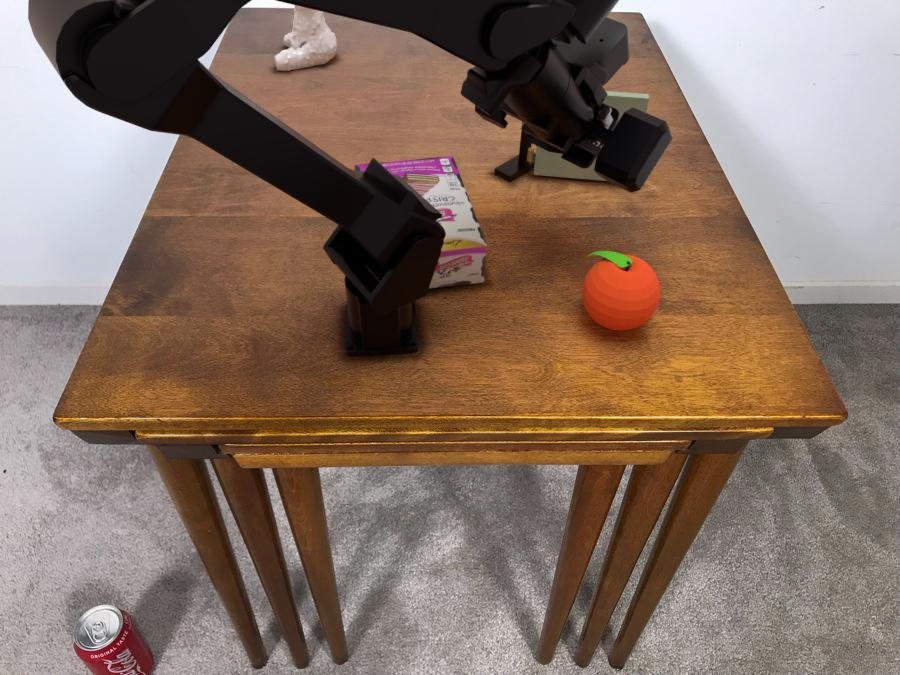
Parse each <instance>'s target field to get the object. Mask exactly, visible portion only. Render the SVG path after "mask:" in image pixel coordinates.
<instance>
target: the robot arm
mask: <svg viewBox="0 0 900 675" xmlns="http://www.w3.org/2000/svg"><path fill="white" fill-rule="evenodd" d="M252 1H253V0H28V2H27V3H28V5H27V6H28V7H27V20H28V22H29V25H30V29H31V32H32V35H33V37H34V39H35V40H36V43H38V45H39V47H40V49H41V50H42V51H43V53H44V54H45V56H46V57H47V60H48V61H49V62H50V63H51V65H52V67H53V68H54V70H55V71H56V73H57V75H58V76H59V78H60V79H61V80H62V82H63V84H64V85H65V87H66V88H67V89H68V90H69V92H70V93H71V94H72V96H74V98H75V99H76V100H78V101H80V102H81V103H82V104H83V105H84V106H86V107H87V108H90V109H91V110H94V111H96V112H98V113H101V114H103V115H106V116H109V117H112V118H114V119H117V120H120V121H123V122H125V123H127V124H130V125H134V126H136V127H139V128H142V129H144V130H147V131H150V132H155V133H163V134H170V135H178V136H185V137H188V138H190V139H193V140H195V141H196V142H198V143H200V144H202V145H203V146H205V147H207V148H209V149H210V150H212V151H214V152H216V153H217V154H219V155H220V156H222V157H224V158H225V159H227V160H229V161H230V162H232V163H234V164H235V165H237V166H239V167H241V168H242V169H244V170H246V171H248V172H249V173H250V174H252V175H254V176H255V177H257V178H259V179H261V180H263V181H264V182H266V183H267V184H269V185H270V186H273V188H276V189H278V190H279V191H281V192H282V193H283V194H286V195H288V196H289V197H291V198H293V199H294V200H296V201H298V202H299V203H301V204H302V205H305V206H306V207H307V208H310V210H312V211H314V212H316V213H318V214H320V215H321V216H322V217H325V218H326V219H328V220H330V221H331V222H333V223H334V224H336V227H335V229H334V230H333V232H332V233H331V234H330V236H329V237H328V238H327V240H326V241H325V243H324V244H323V246H322V249H323V251H324V252H325V254H326V255H327V257H328V258H329V260H330V261H331V262H332V264H333V265H335V266H336V267H337V268H338V269H339V270H340V271H341V273H342V274H343V275H344V287H345V296H346V304H345V325H344V326H345V335H344V338H345V339H344V340H345V341H344V349H345V354H346V355H347V356H366V355H383V354H384V355H386V354H402V353H416V352H417V351H418V350H419V335H418V334H419V333H418V323H417V313H416V301H418V300H420V299H422V298H425V297H426V296H427V294H428V292H429V289H430V288H429V286H430V283H431V281H432V278H433V275H434V272H435V269H436V266H437V263H438V260H439V258H440V254H441V249H442V246H443V243H444V238H445V236H446V232H445V230H444V228H443V227H442V226H441V224H440V223H439V222H438V221H437V219H439V218H441V217H442V214H441V213H440V212H439V211H438V210H437V209H436V208H434V207H433V206H432V205H431V204H430V203H429V202H428V201H427V200H426V199H424V198H423V197H422V196H421V195H420V194H419V193H418V192H417V191H415V190H414V189H413V188H412V187H411V186H410V185H409V184H408V183H407V182H405V181H404V180H403V179H402V178H401V177H400V176H398V175H392V174H391V173H390V172H389V171H388V170H387V169H386V168H385V167H384V166H382V165H381V164H380V163H381V162H380V161H378V160H377V159H376V158H375V157H372V158H371V159H370V161H369V163H368V164H369V165H368V167H367V168H366V170H365V172H364V171H355V169H352V168H349V167H348V166H346V165H345V164H343V163H342V162H340V161H339V160H337V159H336V158H335V157H333V155H330V153H327V152H326V151H324V150H323V149H322V148H321V147H319V146H318V145H316V144H315V143H314V142H312V141H310V140H309V139H308V138H306V137H305V136H303V134H300V133H299V132H298V131H296V130H295V129H293V128H292V127H291V126H289V125H288V124H287V123H285V122H284V121H282V120H281V119H279V118H278V117H277V116H275V115H274V114H272V113H271V112H269V111H268V110H267V109H265V108H264V107H262V106H261V105H260V104H258V103H257V102H256V101H254V100H253V99H251V98H249V97H248V96H247V95H246V94H244V93H242V92H241V91H240V90H238V89H237V88H235V87H234V86H233V85H231V84H230V83H228V82H227V81H225V80H224V79H222V78H221V77H220V76H219V75H217V74H215V73H214V72H213V71H211V69H209V68H207V67H206V66H205V65H204V64H203V63H202V62H201V61H200V60H199V59H201V58H202V57H204V56H205V55H206V54H207V53H208V52H210V50H211V48H212V47H213V46H214V44H215V43H216V42H217V40H218V39H219V38H220V36H221V35H222V33H223V32H224V31H225V29H226V28H227V27H228V25H229V24H230V23H231V22H232V20H233V19H234V18H235V16H236V15H237V13H238V12H239V11H240V10H241V9H242V8H243V7H245V6H247V4H249V3H250V2H252ZM619 1H620V0H275V2H280V3H285V4H289V5H293V6H295V5H297V6H301V7H305V8H309V9H313V10H318V11H322V12H323V13H325V14H326V13H327V14H331V15H335V16H339V17H343V18H348V19H352V20H355V21H359V22H365V23H368V24H373V25H376V26H381V27H385V28H389V29H394V30H397V31H403V32H406V33H411V34H412V35H415V36H417V37H419V38H421V39H422V40H425V41H427V42H428V43H430V44H432V45H434V46H436V47H438V48H440V49H441V50H443V51H445V52H447V53H448V54H450V55H452V56H453V57H456V58H458V59H460V60H462V61H464V62H466V63H468V64H470V65H472V66H473V67H470V68H469V69H468V70H467V72H466V77H465V78H464V80H463V82H462V84H461V89H460V95H461V96H462V97H463V98H465V99H466V100H467V101H469V102H470V103H472V105H474V112H475V113H476V114H477V115H478V116H479V117H481V119H483V120H484V121H486V122H488V123H490V124H492V125H494V126H496V127H498V128H500V129H506V128H507V126H508V125H509V122H508V121H507V120H506V117H507V115H508V116H510V117H512V118H514V119H516V120H518V121H520V122H521V127H520V130H521V129H522V130H523V131H524V132H525V133H527V134H528V137H527V138H528V141H529V142H530V143H532V145H534V146H536V147H537V146H538V147H540V148H542V149H544V150H546V151H548V152H553V153H560V154H563V155H562V156H561V158H562V159H564V160H566V161H568V162H570V163H572V164H574V165H576V166H578V167H580V168H584V169H586V168H589V167H590V166H591V165H592V163H593V162H594V160H595V158H596V162H595V167H594V171H595V172H596V173H597V174H598V175H599V176H601V177H602V178H604V179H605V180H607V181H606V182H608V183H610V184H612V185H614V186H616V187H618V188H620V189H622V190H624V191H626V192H628V193H631V194H632V193H635V192H638V191H640V190H641V189H642V188H643V186H644V184H645V183H646V181H647V180H648V178H649V177H650V175H651V174H652V172H653V170H654V169H655V167H656V166H657V164H658V163H659V161H660V159H661V158H662V156H663V154H664V153H665V151H666V150H667V148H668V146H669V145H670V144H671V141H672V140H673V134H672V129H671V128H670V125H669V124H668V122H667V121H666V120H664V119H661V118H659V117H657V116H654V115H652V114H650V113H648V112H646V113H645V112H643V111H641V110H638V109H636V108H634V107H632V108H631V109H629V110H627V111H625V112H624V113H623V115H622V117H621V118H620V120H619V122H618V119H619V111H618V110H617V109H615V108H613V107H611V106H608V105H606V104H604V103H603V101H604V100H605V98H606V96H607V95H608V94H607V92H606V91H607V90H606V89H605V88H604V86H605V85H606V84H607V83H609V81H610V80H611V79H612V78H613V77H614V76H615V75H616V73H617V72H619V70H620V69H621V68H622V67H623V66H626V64H627V63H628V62H629V60H630V46H629V43H630V42H629V33H628V30H629V29H628V27H627V25H626V24H624V22H620V21H618V20H615V19H612V18H610V17H608V16H609V15H610V13H611V12H612V10H613V9H614V8H615V6H616V5H618V3H619ZM522 122H523V124H522ZM617 122H618V123H617ZM616 124H617V125H616ZM613 129H614V130H613ZM603 145H604V146H603Z"/></svg>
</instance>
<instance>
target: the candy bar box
mask: <svg viewBox="0 0 900 675" xmlns="http://www.w3.org/2000/svg"><path fill="white" fill-rule="evenodd" d="M379 163H380V164H381V165H382V166H384V167H385V168H386V169H387V170H388V171H389V172H390V173H391V174H392V175H398V176H400V177H401V178H402V179H403V180H404V181H405V182H407V183H408V184H409V185H410V186H411V187H412V188H413V189H414V190H415V191H417V192H418V193H419V194H420V195H421V196H422V197H423V198H424V199H426V200H427V201H428V202H429V203H430V204H431V205H432V206H433V207H434V208H436V209H437V210H438V211H439V212H440V213H441V214H442V217H441V218H439V219H437V221H438V222H439V223H440V224H441V226H442V227H443V228H444V230H445V232H446V236H445V238H444V243H443V246H442V249H441V254H440V258H439V260H438V263H437V266H436V269H435V272H434V275H433V278H432V281H431V283H430V286H429V289H435V288H436V289H437V288H445V287H446V288H447V287H455V286H456V287H457V286H464V285H472V284H473V285H475V284H482V283H485V276H486V260H487V259H486V258H487V256H488V255H487V254H488V244H487V241H486V239H485V235H484V234H483V231H482V229H481V226H480V223H479V221H478V218H477V215H476V212H475V211H474V208H473V205H472V203H471V200H470V197H469V195H468V192H467V189H466V187H465V184H464V182H463V179H462V177H461V174H460V171H459V169H458V165H457V163H456V160H455V158H454V156H453V155H447V156H437V157H425V158H415V159H405V160H404V159H403V160H391V161H381V162H379ZM368 165H369V163H360V164H359V163H358V164H354V171H364V172H365V170H366V168H367V167H368Z"/></svg>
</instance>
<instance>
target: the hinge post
mask: <svg viewBox="0 0 900 675" xmlns="http://www.w3.org/2000/svg"><path fill="white" fill-rule="evenodd" d="M522 124H523V122H522V121H521V125H522ZM520 130H521V131H520V140H519V141H520V142H519V150H518V151H519V152H518V155H516V156H514V157H512V158H510V159H508V160H507V161H505V162H503V163H502V164H499V165H498V166H496V167H495V168H494V175H495V176H497V177H499V178H501V179H503V180H505V181H506V182H508V183H510V182H512V181H514V180H515V179H517V178H519V177H520V176H522V175H524V174H526V173H527V172H529V171H531V170H534V165H535V157H536V152H534V151H535V149H534V148H533V147H532V145H533V144H532V143H530V142H529V141H528V138H527V137H528V134H527V133H525V132H524V131H523V130H522V129H521V128H520Z"/></svg>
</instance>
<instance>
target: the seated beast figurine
mask: <svg viewBox="0 0 900 675" xmlns="http://www.w3.org/2000/svg"><path fill="white" fill-rule="evenodd" d="M293 13H294V15H293V20H292V30H291V31H290V32H288V33H287V34H285V35H284V36H283V45H284V46H285V47H287V48H286V49H282V50H281V51H280V52H279V53H277V54H275V55H274V56H273V57H274V58H273V59H274V64H275V67H276V70H277V71H281V72H286V71H288V72H290V71H292V70H300V69H304V68H312V67H314V66H322V65H326V64H327V63H329V62H330V61H331V59H333V58H335V55H337V52H338V49H339V48H338V40H337V37H336V33H335V32H332V29H331V28H330V27H329V25H328V24H327V23H326V19H325V15H324V12H322V11H318V10H313V9H309V8H305V7H301V6H297V5H294V7H293Z"/></svg>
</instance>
